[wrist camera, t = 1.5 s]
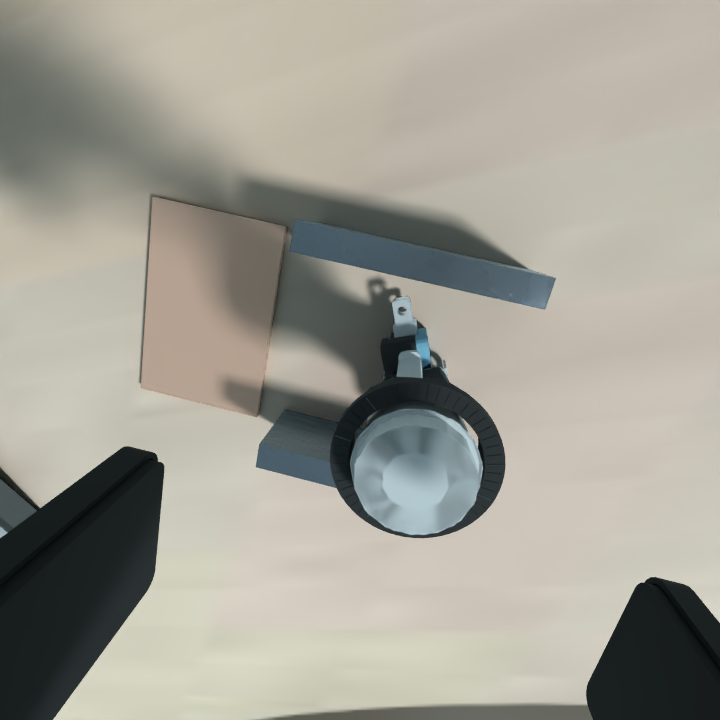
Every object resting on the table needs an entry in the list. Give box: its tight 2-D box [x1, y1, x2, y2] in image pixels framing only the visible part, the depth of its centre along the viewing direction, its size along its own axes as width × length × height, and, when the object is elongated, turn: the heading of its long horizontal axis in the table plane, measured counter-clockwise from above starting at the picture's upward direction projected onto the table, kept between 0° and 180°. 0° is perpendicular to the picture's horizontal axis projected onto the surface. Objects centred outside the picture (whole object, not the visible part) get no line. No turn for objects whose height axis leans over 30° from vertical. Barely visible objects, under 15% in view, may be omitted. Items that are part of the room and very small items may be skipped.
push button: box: [330, 296, 505, 538], centre depth 17 cm, size 7×5×10 cm
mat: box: [141, 197, 287, 417], centre depth 22 cm, size 7×10×1 cm, turn 168°
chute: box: [256, 220, 556, 488], centre depth 20 cm, size 10×11×4 cm
